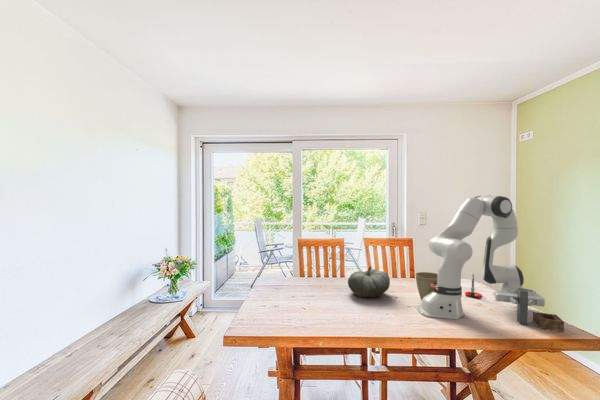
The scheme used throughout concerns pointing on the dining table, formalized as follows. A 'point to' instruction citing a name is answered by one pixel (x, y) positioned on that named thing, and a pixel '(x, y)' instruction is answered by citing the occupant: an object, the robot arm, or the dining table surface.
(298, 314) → the dining table surface
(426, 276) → the plant pot
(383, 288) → the gourd
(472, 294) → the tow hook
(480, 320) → the dining table surface
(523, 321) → the gray rectangular bar
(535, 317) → the brown square socket block
